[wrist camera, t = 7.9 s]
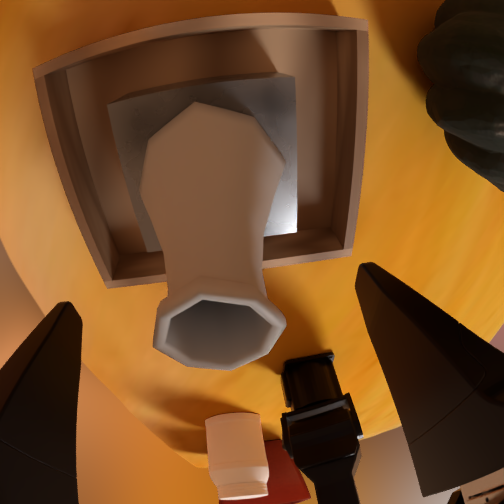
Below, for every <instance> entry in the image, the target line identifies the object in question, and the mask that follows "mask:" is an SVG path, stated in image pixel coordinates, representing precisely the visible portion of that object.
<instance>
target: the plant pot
mask: <svg viewBox="0 0 504 504" xmlns="http://www.w3.org/2000/svg"><path fill="white" fill-rule="evenodd" d="M264 447H265V453H266V459H267V462H268V468H269V478H268V481H267V484H266V485H267V491H268V495H267V496H262V497H257V498H249V499H238V500H220V499H219V504H296V503H299V502H302V501H305V500H308V499H310V498H311V496H310V493H309V491H308V488H307V486H306V483H305V481H304V479H303V477H302V474H301V472H300V470H299V468H298V467H297V466H296V465H295V463H294V459H291V458H290V456H289V454H288V453H287V451H286V450H284V449H283V448H282V440H273V441H264Z"/></svg>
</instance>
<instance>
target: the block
mask: <svg viewBox="0 0 504 504" xmlns="http://www.w3.org/2000/svg"><path fill="white" fill-rule="evenodd" d="M194 102H198V103H203V104H207V105H211V106H215V107H219V108H223V109H227V110H231V111H235V112H238V113H242V114H245V115H249V116H252V117H255V119H256V120H257V121H258V123H259V124H260V126H261V127H262V128H263V130H264V131H265V132H266V134H267V135H268V137H269V138H270V139H271V141H272V142H273V144H274V145H275V146H276V148H277V149H278V151H279V152H280V153H281V155H282V156H283V158H284V159H285V161H286V163H285V167H284V170H283V173H282V176H281V178H280V181H279V184H278V187H277V190H276V192H275V196H274V199H273V203H272V206H271V210H270V213H269V217H268V220H267V224H266V227H265V231H264V236H271V235H279V234H287V233H295V232H297V120H296V87H295V77H293V76H290V75H287V74H284V73H280V72H262V73H248V74H236V75H226V76H218V77H210V78H202V79H196V80H189V81H183V82H177V83H172V84H167V85H162V86H157V87H152V88H148V89H143V90H139V91H135V92H131V93H127V94H125V95H123V96H122V97H120V98H118V99H116V100H114V101H113V102H111V103H109V104H107V108H108V113H109V117H110V122H111V126H112V131H113V135H114V139H115V143H116V147H117V152H118V155H119V159H120V163H121V167H122V171H123V174H124V178H125V182H126V185H127V189H128V192H129V196H130V199H131V202H132V206H133V209H134V212H135V216H136V219H137V222H138V225H139V228H140V231H141V234H142V237H143V240H144V243H145V246H146V249H147V252H155V251H162V248H161V245H160V243H159V240H158V238H157V235H156V232H155V230H154V227H153V224H152V221H151V219H150V216H149V214H148V212H147V210H146V208H145V205H144V203H143V201H142V198H141V196H140V193H139V188H140V182H141V176H142V170H143V165H144V159H145V154H146V149H147V144H148V140H149V139H150V138H151V137H152V136H153V135H154V134H155V133H157V132H158V131H159V130H160V129H161V128H163V127H164V126H165V125H166V124H167V123H169V122H170V121H171V120H172V119H173V118H175V117H176V116H177V115H178V114H180V113H181V112H182V111H183V110H185V109H186V108H187V107H189V106H190V105H191V104H193V103H194ZM264 236H263V237H264Z"/></svg>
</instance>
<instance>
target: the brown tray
mask: <svg viewBox="0 0 504 504" xmlns="http://www.w3.org/2000/svg"><path fill="white" fill-rule="evenodd" d="M262 72H280V73H284V74H287V75H290V76H293V77H295V87H296V120H297V232H295V233H287V234H279V235H271V236H264V237H263V262H262V269H265V268H272V267H279V266H286V265H293V264H300V263H307V262H314V261H321V260H327V259H334V258H341V257H347V256H351V255H352V249H353V243H354V236H355V230H356V223H357V216H358V209H359V201H360V193H361V185H362V175H363V166H364V155H365V143H366V129H367V111H368V83H369V41H368V20H365V19H358V18H351V17H343V16H334V15H323V14H308V13H246V14H231V15H220V16H211V17H203V18H196V19H189V20H183V21H177V22H172V23H166V24H162V25H157V26H152V27H148V28H144V29H140V30H136V31H132V32H128V33H125V34H121V35H118V36H114V37H111V38H108V39H105V40H102V41H99V42H96V43H93V44H90V45H87V46H84V47H82V48H79V49H76V50H74V51H71V52H69V53H66V54H64V55H61V56H59V57H57V58H54V59H52V60H50V61H48V62H45V63H43V64H41V65H39V66H37V67H35V68H33V75H34V80H35V86H36V91H37V96H38V100H39V105H40V109H41V113H42V117H43V121H44V125H45V129H46V133H47V137H48V140H49V144H50V147H51V151H52V154H53V157H54V160H55V164H56V167H57V170H58V173H59V176H60V179H61V182H62V184H63V187H64V190H65V193H66V196H67V198H68V201H69V204H70V206H71V209H72V211H73V214H74V216H75V219H76V221H77V224H78V226H79V229H80V231H81V233H82V236H83V238H84V240H85V243H86V245H87V247H88V249H89V252H90V254H91V256H92V258H93V260H94V262H95V265H96V267H97V269H98V271H99V273H100V275H101V277H102V279H103V281H104V283H105V285H106V287H107V289H109V288H118V287H126V286H135V285H143V284H151V283H159V282H167V277H166V269H165V261H164V253H163V251H155V252H147V249H146V246H145V243H144V240H143V237H142V234H141V231H140V228H139V225H138V222H137V219H136V216H135V212H134V209H133V206H132V202H131V199H130V196H129V192H128V189H127V185H126V182H125V178H124V174H123V171H122V167H121V163H120V159H119V155H118V152H117V147H116V143H115V139H114V135H113V131H112V126H111V122H110V117H109V113H108V108H107V104H109V103H111V102H113V101H114V100H116V99H118V98H120V97H122V96H123V95H125V94H127V93H131V92H135V91H139V90H143V89H148V88H152V87H157V86H162V85H167V84H172V83H177V82H183V81H189V80H196V79H202V78H210V77H218V76H226V75H236V74H248V73H262Z"/></svg>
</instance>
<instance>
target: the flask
mask: <svg viewBox="0 0 504 504" xmlns="http://www.w3.org/2000/svg"><path fill="white" fill-rule="evenodd" d="M285 163H286V161H285V159H284V158H283V156H282V155H281V153H280V152H279V151H278V149H277V148H276V146H275V145H274V144H273V142H272V141H271V139H270V138H269V137H268V135H267V134H266V132H265V131H264V130H263V128H262V127H261V126H260V124H259V123H258V121H257V120H256V119H255V117H252V116H249V115H245V114H242V113H238V112H235V111H231V110H227V109H223V108H219V107H215V106H211V105H207V104H203V103H198V102H194V103H193V104H191V105H190V106H189V107H187V108H186V109H185V110H183V111H182V112H181V113H180V114H178V115H177V116H176V117H175V118H173V119H172V120H171V121H170V122H169V123H167V124H166V125H165V126H164V127H163V128H161V129H160V130H159V131H158V132H157V133H155V134H154V135H153V136H152V137H151V138H150V139H149V140H148V144H147V149H146V154H145V159H144V165H143V170H142V176H141V182H140V188H139V193H140V196H141V198H142V201H143V203H144V205H145V208H146V210H147V212H148V214H149V216H150V219H151V221H152V224H153V227H154V230H155V232H156V235H157V238H158V240H159V243H160V245H161V248H162V251H163V253H164V261H165V269H166V277H167V284H168V297H166V298H165V299H163V300H162V301H160V304H159V306H158V308H157V314H156V321H155V329H154V336H153V347H154V348H155V349H157V350H159V351H161V352H162V353H164V354H166V355H167V356H169V357H171V358H173V359H174V360H176V361H178V362H180V363H182V364H183V365H185V366H187V367H196V368H206V369H217V370H230V371H231V370H233V369H236V368H238V367H240V366H243V365H245V364H247V363H249V362H252V361H254V360H256V359H258V358H260V357H262V356H265V355H267V354H268V353H269V352H270V350H271V349H272V347H273V346H274V344H275V343H276V341H277V340H278V338H279V336H280V335H281V333H282V332H283V330H284V329H285V327H286V326H287V324H286V319H285V317H284V315H283V313H282V312H281V311H280V310H279V309H278V308H277V307H276V306H275V305H274V304H273V303H272V302H271V301H270V300H269V299H268V298H267V293H266V288H265V283H264V278H263V273H262V262H263V236H264V231H265V227H266V224H267V220H268V217H269V213H270V210H271V206H272V203H273V199H274V196H275V192H276V190H277V187H278V184H279V181H280V178H281V176H282V173H283V170H284V167H285Z"/></svg>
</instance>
